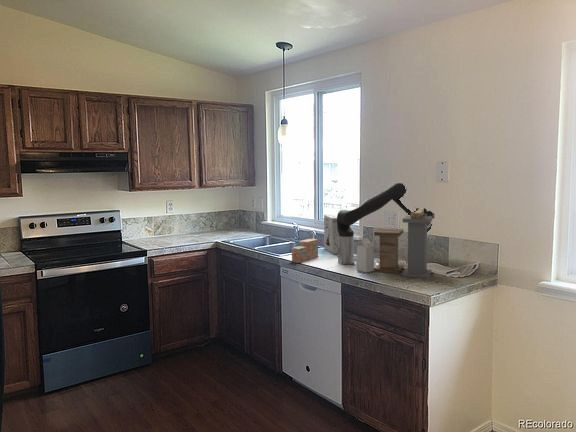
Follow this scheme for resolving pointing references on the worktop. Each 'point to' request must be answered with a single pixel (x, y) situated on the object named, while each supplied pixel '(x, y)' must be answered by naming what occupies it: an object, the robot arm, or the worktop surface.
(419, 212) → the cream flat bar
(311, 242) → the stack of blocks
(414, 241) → the charcoal pedestal
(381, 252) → the walnut stand
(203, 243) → the worktop surface
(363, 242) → the milk carton
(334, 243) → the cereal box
